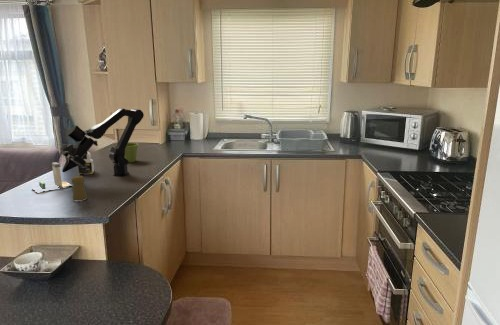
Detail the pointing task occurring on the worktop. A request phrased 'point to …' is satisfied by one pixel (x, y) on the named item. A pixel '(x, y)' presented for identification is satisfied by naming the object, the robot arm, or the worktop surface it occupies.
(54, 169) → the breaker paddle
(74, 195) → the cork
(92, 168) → the medicine bottle
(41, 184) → the base
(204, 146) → the worktop surface
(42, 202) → the worktop surface
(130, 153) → the plant pot
